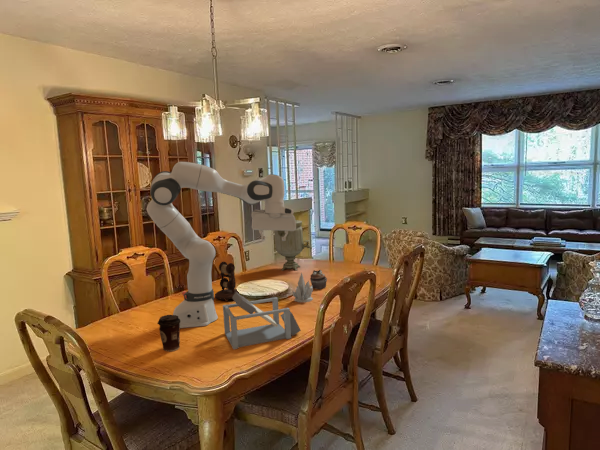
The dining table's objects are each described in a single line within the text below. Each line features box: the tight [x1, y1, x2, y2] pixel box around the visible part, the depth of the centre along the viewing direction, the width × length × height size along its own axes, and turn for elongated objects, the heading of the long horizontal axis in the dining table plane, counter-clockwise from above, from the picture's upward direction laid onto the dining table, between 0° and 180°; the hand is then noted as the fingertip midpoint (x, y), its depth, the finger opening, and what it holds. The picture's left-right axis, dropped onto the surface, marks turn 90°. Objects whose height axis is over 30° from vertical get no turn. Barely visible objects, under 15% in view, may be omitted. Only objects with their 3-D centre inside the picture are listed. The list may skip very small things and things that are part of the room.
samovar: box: [273, 219, 313, 272], centre depth 286 cm, size 30×26×40 cm
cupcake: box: [309, 269, 328, 290], centre depth 242 cm, size 10×10×10 cm
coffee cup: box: [156, 314, 181, 352], centre depth 165 cm, size 9×8×13 cm
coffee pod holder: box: [214, 261, 240, 303], centre depth 228 cm, size 15×15×20 cm
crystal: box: [292, 272, 314, 303], centre depth 220 cm, size 10×13×15 cm
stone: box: [279, 311, 301, 337], centre depth 174 cm, size 4×4×9 cm
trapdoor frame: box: [222, 296, 292, 350], centre depth 174 cm, size 24×18×12 cm
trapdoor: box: [232, 292, 278, 327], centre depth 173 cm, size 19×13×3 cm
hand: (273, 240), depth 189 cm, fingers open, 8 cm apart
